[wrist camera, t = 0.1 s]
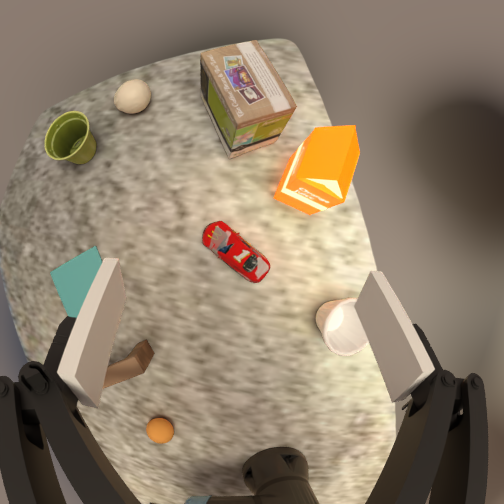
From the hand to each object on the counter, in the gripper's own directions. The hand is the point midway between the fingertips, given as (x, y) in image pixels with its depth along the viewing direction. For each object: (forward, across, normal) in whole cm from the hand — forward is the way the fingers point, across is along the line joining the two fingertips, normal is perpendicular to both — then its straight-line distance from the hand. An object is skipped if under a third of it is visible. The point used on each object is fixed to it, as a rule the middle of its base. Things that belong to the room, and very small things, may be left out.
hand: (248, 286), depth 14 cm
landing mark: (+25, +26, +26) cm, 45 cm away
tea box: (+45, -1, -1) cm, 45 cm away
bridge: (+17, +19, +37) cm, 45 cm away
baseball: (+47, +20, -3) cm, 51 cm away
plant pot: (+41, +29, +5) cm, 51 cm away
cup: (+24, -21, +29) cm, 43 cm away
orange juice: (+38, -13, +9) cm, 41 cm away
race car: (+31, -2, +20) cm, 37 cm away
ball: (+7, +12, +47) cm, 49 cm away
